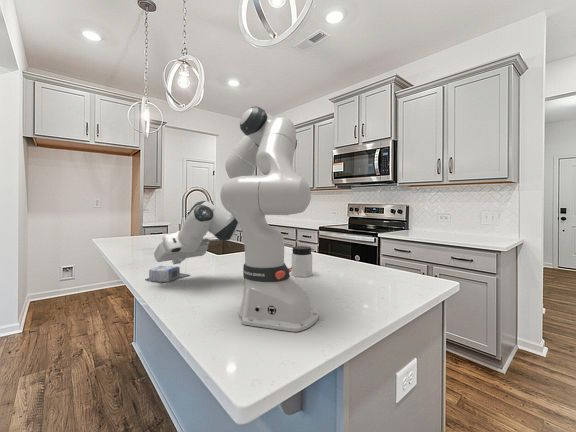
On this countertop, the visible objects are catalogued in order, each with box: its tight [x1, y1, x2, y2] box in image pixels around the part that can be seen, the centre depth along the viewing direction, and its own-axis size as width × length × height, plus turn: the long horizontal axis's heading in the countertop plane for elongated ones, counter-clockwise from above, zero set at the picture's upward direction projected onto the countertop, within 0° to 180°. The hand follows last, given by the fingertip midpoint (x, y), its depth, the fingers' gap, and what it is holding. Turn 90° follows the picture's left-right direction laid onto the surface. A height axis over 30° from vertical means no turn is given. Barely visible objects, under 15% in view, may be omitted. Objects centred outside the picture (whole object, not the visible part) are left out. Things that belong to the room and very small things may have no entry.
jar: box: [291, 245, 313, 278], centre depth 129 cm, size 9×8×12 cm
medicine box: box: [148, 265, 181, 283], centre depth 119 cm, size 8×4×9 cm
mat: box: [145, 272, 191, 284], centre depth 122 cm, size 10×14×1 cm
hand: (176, 262), depth 119 cm, fingers closed
